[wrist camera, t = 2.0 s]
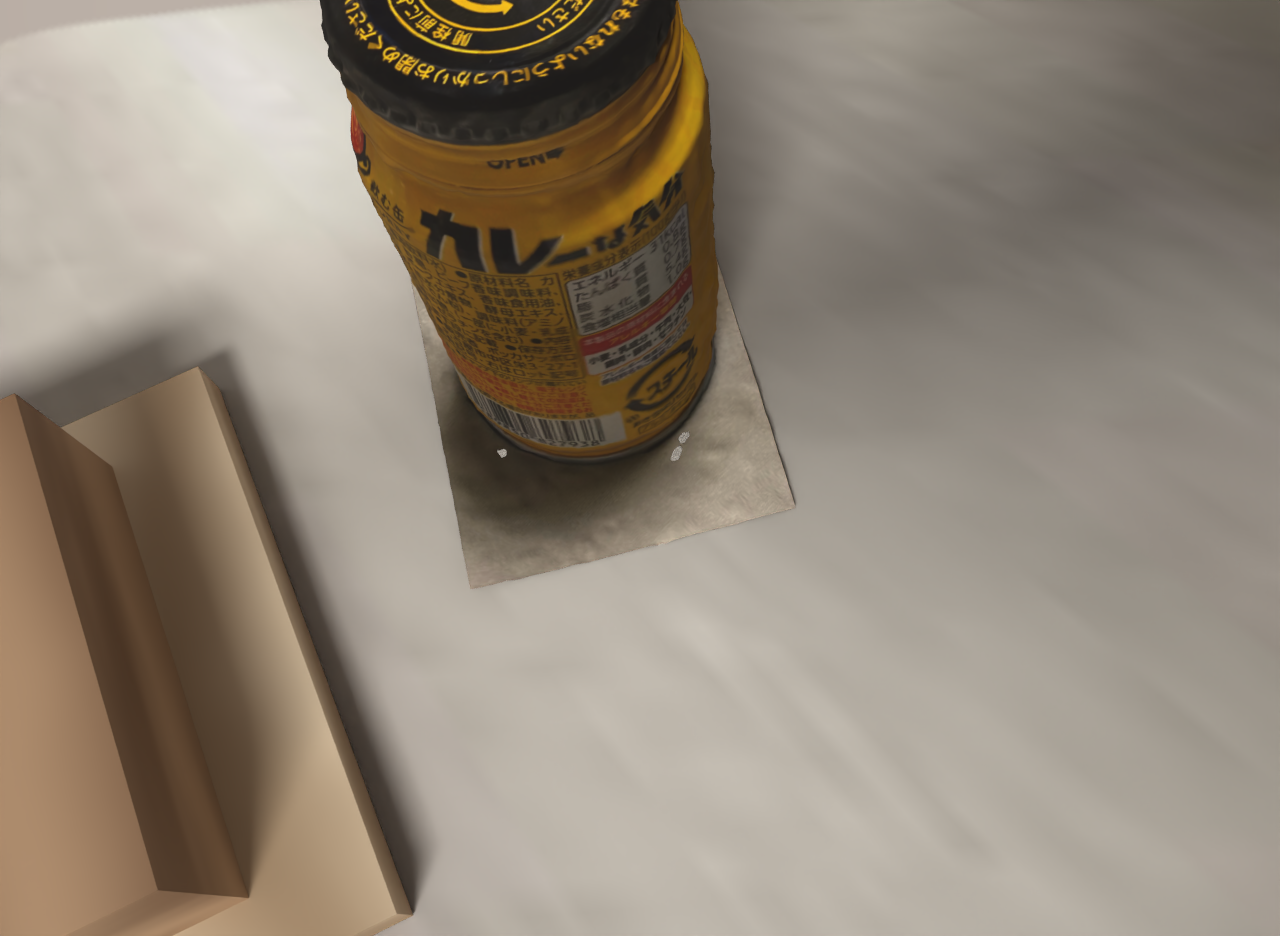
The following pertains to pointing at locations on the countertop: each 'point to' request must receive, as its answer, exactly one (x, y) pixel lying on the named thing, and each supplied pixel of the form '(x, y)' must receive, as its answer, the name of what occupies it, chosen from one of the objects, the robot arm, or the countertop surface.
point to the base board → (250, 668)
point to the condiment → (560, 270)
